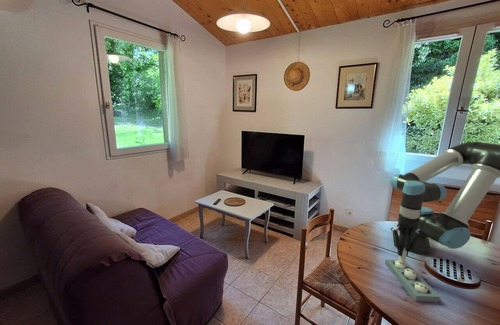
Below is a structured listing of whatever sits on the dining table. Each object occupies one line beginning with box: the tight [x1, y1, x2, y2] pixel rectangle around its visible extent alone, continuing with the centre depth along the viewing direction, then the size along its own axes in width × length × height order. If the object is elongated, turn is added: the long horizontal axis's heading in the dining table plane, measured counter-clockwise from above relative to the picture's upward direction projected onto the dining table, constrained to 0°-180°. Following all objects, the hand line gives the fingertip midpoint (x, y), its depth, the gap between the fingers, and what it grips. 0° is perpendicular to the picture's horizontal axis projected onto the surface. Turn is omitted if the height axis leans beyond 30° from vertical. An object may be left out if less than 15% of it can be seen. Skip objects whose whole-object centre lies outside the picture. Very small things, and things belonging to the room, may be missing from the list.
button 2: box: [404, 268, 418, 280], centre depth 98 cm, size 4×4×3 cm
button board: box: [384, 258, 441, 303], centre depth 98 cm, size 9×22×2 cm, turn 177°
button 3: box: [414, 282, 428, 293], centre depth 91 cm, size 4×4×3 cm
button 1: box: [395, 259, 406, 269], centre depth 105 cm, size 4×4×3 cm
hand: (401, 261), depth 104 cm, fingers closed
